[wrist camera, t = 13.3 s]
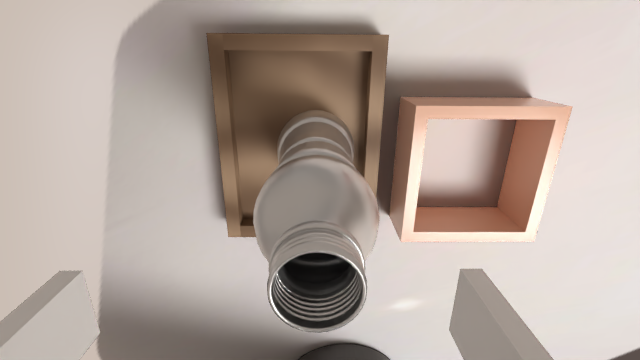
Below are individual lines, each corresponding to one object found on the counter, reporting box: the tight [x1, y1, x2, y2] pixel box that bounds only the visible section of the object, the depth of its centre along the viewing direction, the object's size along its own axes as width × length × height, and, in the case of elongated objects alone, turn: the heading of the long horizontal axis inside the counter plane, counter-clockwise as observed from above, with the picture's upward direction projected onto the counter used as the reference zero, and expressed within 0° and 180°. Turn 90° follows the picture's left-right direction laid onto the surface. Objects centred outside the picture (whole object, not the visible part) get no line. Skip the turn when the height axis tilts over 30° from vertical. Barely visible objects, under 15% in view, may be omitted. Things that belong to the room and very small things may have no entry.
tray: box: [207, 33, 389, 237], centre depth 30 cm, size 18×14×2 cm
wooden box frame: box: [389, 97, 572, 242], centre depth 30 cm, size 12×12×5 cm
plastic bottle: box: [253, 110, 379, 333], centre depth 21 cm, size 6×7×20 cm
